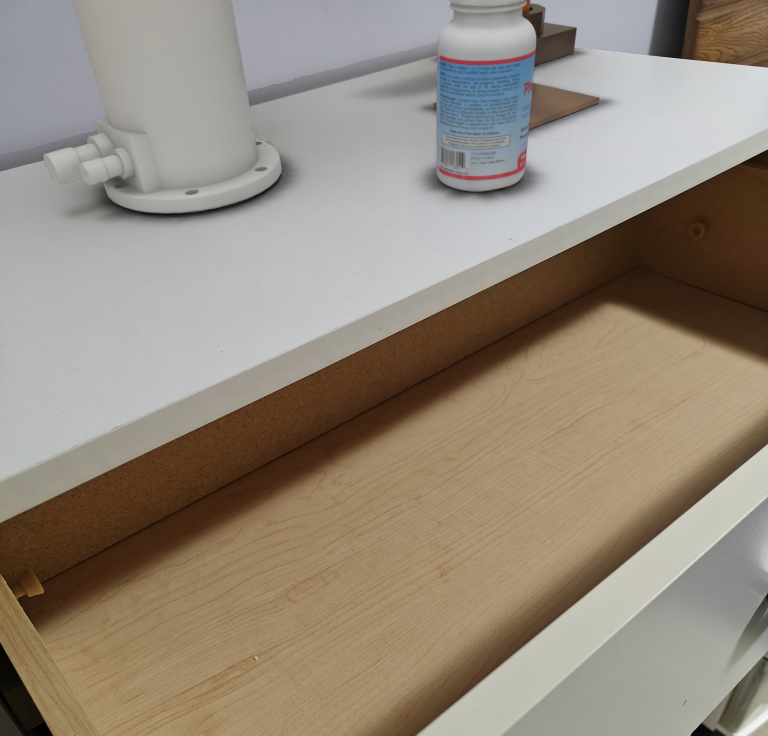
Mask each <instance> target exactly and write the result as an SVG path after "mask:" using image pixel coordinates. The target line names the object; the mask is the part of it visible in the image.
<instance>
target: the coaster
mask: <svg viewBox="0 0 768 736" xmlns="http://www.w3.org/2000/svg"><path fill="white" fill-rule="evenodd" d="M600 100H601V98H600V97H599V96H594V95H589V94H587V93H581V92H576V91H572V90H568V89H563V88H558V87H554V86H549V85H545V84H539V83H535V82H533V86H532V97H531V109H530V120H529V130H532V129H534V128H537V127H540V126H542V125H545V124H547V123H550V122H553V121H555V120H558V119H560V118H563V117H565V116H568V115H571V114H573V113H576V112H578V111H581V110H584V109H586V108H589V107H592V106H594V105H597V104H599V103H600ZM432 109H434V110H437V101H436V102H433V104H432Z"/></svg>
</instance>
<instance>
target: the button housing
mask: <svg viewBox="0 0 768 736" xmlns="http://www.w3.org/2000/svg"><path fill="white" fill-rule="evenodd" d="M522 16H523V17H524V18H525V19H527V20H528V21H529V22H530V23H531V24H532V26H533V27H534V30H535V33H536V51H535V63H534V67H535V66H538V65H541V64H544V63H547V62H551V61H553V60H557V59H560V58H563V57H566V56H569V55H572V54H574V53H575V46H576V39H577V30H578V27H576V26H570V25H564V24H557V23H551V22H546V21H545V20H546V19H545V18H546V7H545V6H544V5H541V4H539V3H532V2H530V11H528V12H524V13H522Z"/></svg>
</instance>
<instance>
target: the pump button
mask: <svg viewBox="0 0 768 736" xmlns="http://www.w3.org/2000/svg"><path fill="white" fill-rule="evenodd" d="M526 1H527V4H526V5H525V6H524V7H523V9H522V13H524V12H528V11H530V3H531V0H526Z"/></svg>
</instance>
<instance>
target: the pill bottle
mask: <svg viewBox="0 0 768 736" xmlns="http://www.w3.org/2000/svg"><path fill="white" fill-rule="evenodd" d="M448 2H450V3H449V8H450V9H451V10H453V13H452V15H453V17H452V19H451V20H449V21H448V22H446V24H444V26H443V27H442V29H441V31H440V32H439V34H438V38H437V44H436V102H437V109H436V163H435V164H436V165H435V166H436V176H437V177H438V179H439V181H440V182H442V183H443V184H444V185H446V186H448V187H450V188H453V189H455V190H460V191H465V192H487V191H493V190H498V189H503V188H507V187H510V186H513V185H515V184H517V183H518V182H520V181H521V179H522V178H523V177H524V175H525V172H526V163H527V153H528V142H529V141H528V140H529V132H530V129H529V120H530V109H531V97H532V86H533V83H534V75H535V74H534V73H535V66H534V63H535V51H536V33H535V30H534V27H533V26H532V24H531V23H530V22H529V21H528V20H527V19H525V18H524V17H523V16H522V9H523V7H524V6H525V5H526V4H527V1H526V0H448Z"/></svg>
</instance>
